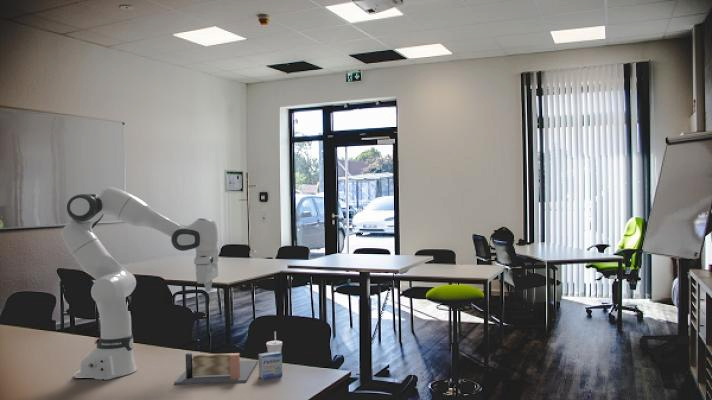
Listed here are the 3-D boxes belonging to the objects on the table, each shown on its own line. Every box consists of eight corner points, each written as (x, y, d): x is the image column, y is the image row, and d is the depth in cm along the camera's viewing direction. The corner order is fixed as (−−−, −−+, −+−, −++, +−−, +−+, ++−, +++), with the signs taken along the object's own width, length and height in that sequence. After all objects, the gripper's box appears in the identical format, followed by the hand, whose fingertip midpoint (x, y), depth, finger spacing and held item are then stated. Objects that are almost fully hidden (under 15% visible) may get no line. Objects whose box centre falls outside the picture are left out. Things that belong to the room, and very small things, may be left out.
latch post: (230, 381, 198) (229, 355, 198) (232, 379, 201) (231, 353, 201) (238, 381, 198) (237, 355, 198) (240, 378, 201) (239, 353, 201)
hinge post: (185, 380, 200) (184, 355, 200) (187, 378, 203) (186, 353, 203) (191, 380, 200) (191, 354, 200) (193, 378, 203) (193, 353, 203)
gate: (192, 376, 201) (192, 355, 201) (194, 374, 203) (194, 354, 203) (239, 374, 201) (239, 354, 201) (241, 372, 204) (240, 352, 204)
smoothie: (280, 369, 210) (278, 333, 210) (264, 369, 211) (263, 333, 211) (285, 364, 216) (284, 329, 216) (270, 364, 218) (269, 329, 217)
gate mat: (174, 384, 197) (174, 382, 197) (193, 364, 221) (193, 362, 221) (246, 382, 197) (246, 380, 197) (257, 362, 221) (257, 360, 221)
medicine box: (262, 379, 199) (261, 356, 199) (258, 376, 203) (258, 353, 203) (282, 376, 203) (282, 352, 203) (278, 372, 207) (278, 350, 207)
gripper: (206, 255, 234) (207, 287, 234) (192, 260, 213) (193, 295, 213) (221, 254, 234) (222, 286, 234) (208, 260, 214) (209, 295, 214)
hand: (208, 291), depth 224 cm, fingers closed
